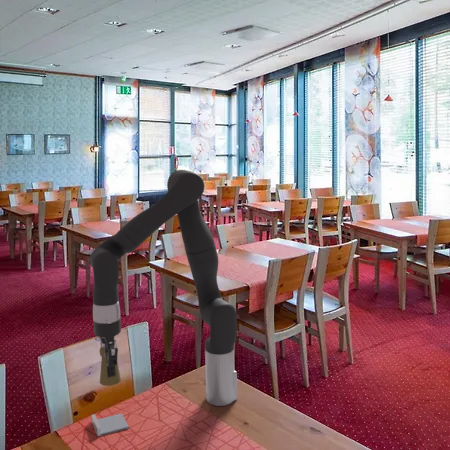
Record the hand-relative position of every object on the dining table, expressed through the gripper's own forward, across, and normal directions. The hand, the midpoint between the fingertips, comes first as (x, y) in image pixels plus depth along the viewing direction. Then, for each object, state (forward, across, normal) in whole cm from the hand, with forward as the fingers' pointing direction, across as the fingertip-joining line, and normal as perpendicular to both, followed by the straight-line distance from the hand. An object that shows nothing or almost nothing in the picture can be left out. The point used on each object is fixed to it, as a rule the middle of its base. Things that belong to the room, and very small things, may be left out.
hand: (109, 373), depth 146 cm
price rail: (+16, 0, -5) cm, 17 cm away
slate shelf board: (+16, 0, 0) cm, 16 cm away
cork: (+2, 0, 0) cm, 2 cm away
